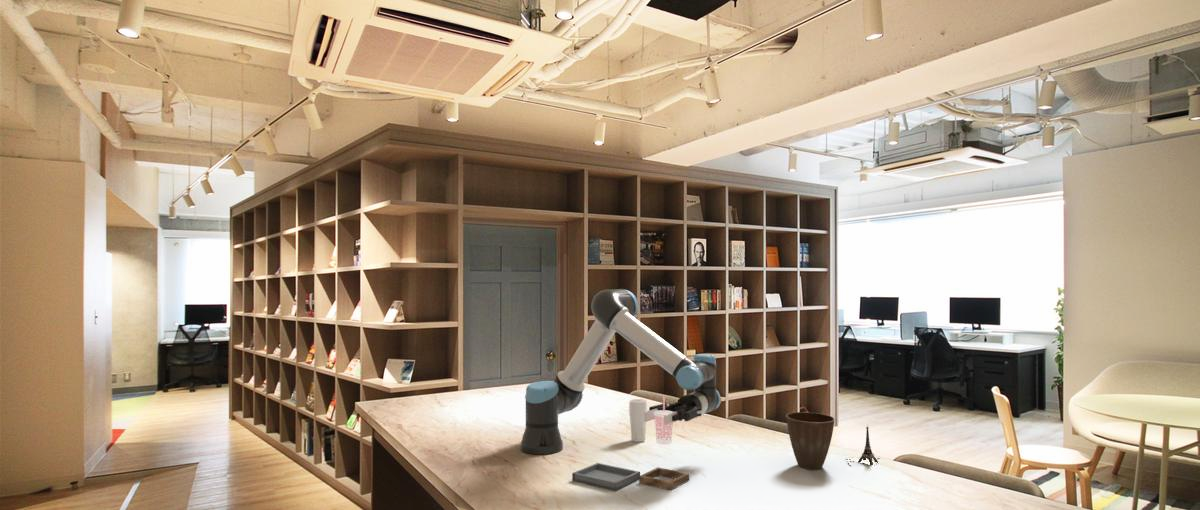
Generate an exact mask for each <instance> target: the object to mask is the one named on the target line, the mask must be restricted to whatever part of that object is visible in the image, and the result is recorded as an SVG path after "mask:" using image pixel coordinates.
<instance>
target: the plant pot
mask: <svg viewBox="0 0 1200 510" xmlns="http://www.w3.org/2000/svg"><path fill="white" fill-rule="evenodd" d="M785 418H786V423H787V424H786V425H787V431H788V435H789V436H788V437H789V441H790V444H791V447H792V451H793V454H794V458H795V461H796V463H797V465H798V467H799V468H802V469H806V470H811V471H812V470H815V471H816V470H821V469H822V468H823V466H824V463H825V461H826V459H827V456H828V453H829V450H830V446H831V441H832V438H833V437H832V436H833V431H834V427H835V418H834V416H831V415H828V414H824V413H818V412H809V411H807V412H806V411H798V412H797V411H795V412H789V413H787V414H785Z"/></svg>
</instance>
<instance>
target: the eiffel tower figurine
mask: <svg viewBox="0 0 1200 510" xmlns="http://www.w3.org/2000/svg"><path fill="white" fill-rule="evenodd" d="M869 429H870V428H869V426H868V423H867V425H866V435H865V436H866V437H865V446H864V450H863V452H862V453H861V456H860V457H859V458H860V459H859V461H858V462H861V461H862V459H863V460H866V458H867V459H868V460H869V462H870V465H873V462H872V461H874V462H877V463H878V462H879V461H878V460H879V459H880V458H881V457H875V454H874V453H873V451H872V449H871V448H872V447H871V443H870V442H871V441H870V434H869ZM872 458H873V459H872ZM876 458H877V459H876ZM845 459H846V460H848V459H847V458H845ZM846 460H845V461H846ZM849 460H851V459H849ZM878 464H879V463H878ZM870 465H869V466H870Z"/></svg>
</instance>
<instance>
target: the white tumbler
mask: <svg viewBox="0 0 1200 510" xmlns="http://www.w3.org/2000/svg"><path fill="white" fill-rule="evenodd" d="M628 401H629V403H628V405H629V407H628V408H629V409H628V413H629V424H630V434H631V435H630V436H631V437H630V438H631V441H632V442H633V443H634V442H635V443H642V442H645V441H646V433H647V432H646V431H647V430H646V429H647V422H645V421H644V412H647V411H648V401H647V399H642V398H633V399H630V400H628Z"/></svg>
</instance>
